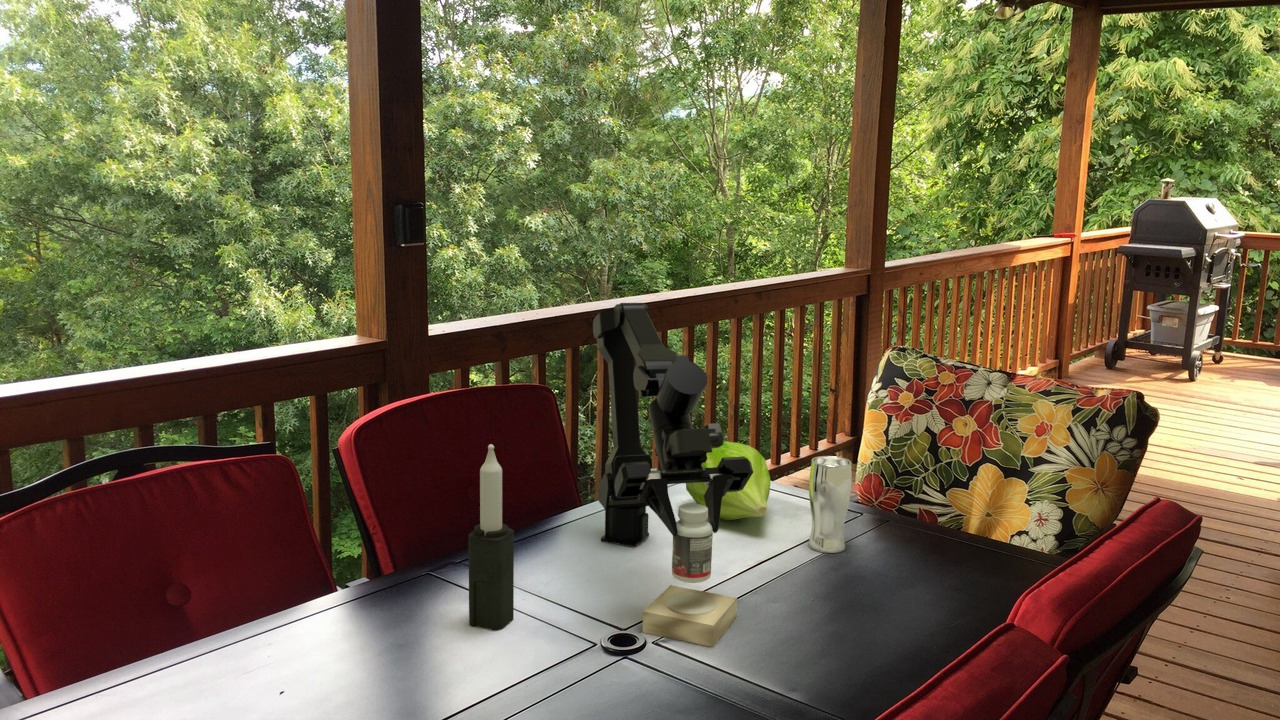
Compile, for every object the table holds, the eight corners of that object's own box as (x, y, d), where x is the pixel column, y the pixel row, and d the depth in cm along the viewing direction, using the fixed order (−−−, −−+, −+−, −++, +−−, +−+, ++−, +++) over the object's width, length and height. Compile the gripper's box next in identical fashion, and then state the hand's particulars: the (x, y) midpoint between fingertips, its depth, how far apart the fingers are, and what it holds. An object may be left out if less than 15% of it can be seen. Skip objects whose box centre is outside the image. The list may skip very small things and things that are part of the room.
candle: (516, 616, 138) (516, 441, 134) (499, 631, 134) (499, 450, 129) (483, 611, 140) (483, 438, 136) (465, 625, 135) (464, 446, 131)
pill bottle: (664, 572, 137) (666, 504, 136) (698, 566, 140) (701, 499, 138) (683, 586, 133) (685, 516, 131) (718, 580, 135) (720, 511, 133)
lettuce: (799, 543, 177) (720, 562, 172) (745, 481, 196) (673, 497, 192) (802, 471, 171) (721, 489, 166) (746, 415, 190) (671, 430, 186)
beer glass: (845, 540, 172) (850, 456, 169) (849, 555, 165) (855, 467, 162) (804, 538, 172) (809, 454, 170) (807, 553, 165) (811, 465, 163)
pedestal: (642, 632, 134) (643, 609, 134) (669, 604, 144) (670, 583, 143) (712, 646, 131) (713, 623, 130) (736, 617, 140) (737, 595, 139)
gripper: (621, 405, 133) (641, 510, 125) (751, 400, 138) (779, 501, 130) (606, 447, 142) (624, 548, 134) (729, 441, 147) (753, 538, 139)
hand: (695, 533), depth 134 cm, fingers closed on pill bottle, 5 cm apart
